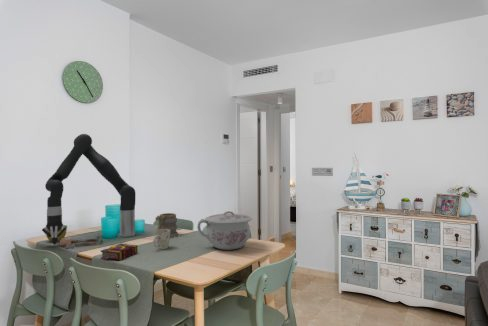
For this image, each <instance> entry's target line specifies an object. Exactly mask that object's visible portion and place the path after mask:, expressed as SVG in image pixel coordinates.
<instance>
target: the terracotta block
mask: <svg viewBox="0 0 488 326" xmlns="http://www.w3.org/2000/svg"><path fill="white" fill-rule="evenodd" d="M71 240H72V237H64V238H62V239H61V240H60V241H59V245H63V244H67V246H72V243H71Z"/></svg>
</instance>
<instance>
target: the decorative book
mask: <svg viewBox="0 0 488 326" xmlns="http://www.w3.org/2000/svg"><path fill="white" fill-rule="evenodd" d="M100 253H101V254H102V255H101V257H100V260H101V259H103V260H111V261H121V260H125V259H127V258H128V257H130V256H131V257H132V256H134V255H135V254H137V253H138V245H135V244H127V243H118V244H117V245H114V246H110V247H109V248H105V249H102V250H100Z"/></svg>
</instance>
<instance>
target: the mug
mask: <svg viewBox="0 0 488 326" xmlns="http://www.w3.org/2000/svg"><path fill="white" fill-rule="evenodd" d="M170 238H171V237H170V230H169V229H159V230H158V229H155V236H154V239H153V247H155V248H157V249H158V250H167V249H169V245H170Z"/></svg>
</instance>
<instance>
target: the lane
mask: <svg viewBox="0 0 488 326" xmlns="http://www.w3.org/2000/svg"><path fill="white" fill-rule="evenodd" d="M102 239H103V235H102V232H98V233H97V235H96V238H89V239H87V240H86V242H79V240H80V239H73V240H72V239H71V244H74V247H75V246H76V247H86V246H88V247H89V246H96V245H97V246H98V245H100V246H101V243H102V241H103V240H102ZM66 246H67V244H63V245H60V244H59V245H58V248H59V247H63V248H65V247H66Z"/></svg>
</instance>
